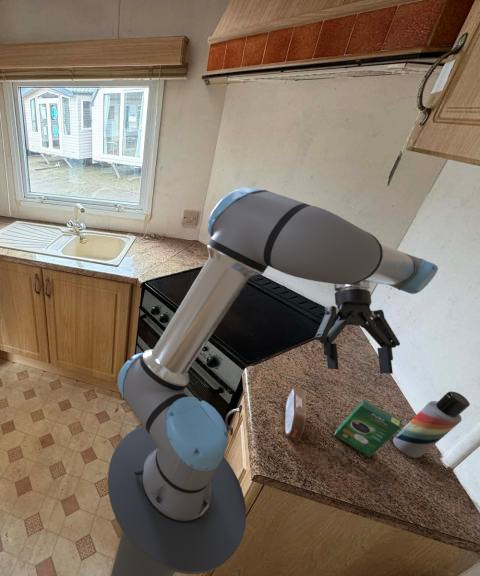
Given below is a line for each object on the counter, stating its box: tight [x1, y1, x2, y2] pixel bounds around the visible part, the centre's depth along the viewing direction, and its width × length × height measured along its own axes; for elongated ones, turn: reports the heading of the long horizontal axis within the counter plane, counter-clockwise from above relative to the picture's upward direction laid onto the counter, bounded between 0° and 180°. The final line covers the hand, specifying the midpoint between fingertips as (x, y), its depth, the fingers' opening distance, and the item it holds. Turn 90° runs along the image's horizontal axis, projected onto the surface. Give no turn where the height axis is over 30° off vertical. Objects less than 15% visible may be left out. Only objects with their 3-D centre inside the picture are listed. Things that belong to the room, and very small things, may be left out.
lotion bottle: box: [392, 391, 471, 459], centre depth 74 cm, size 6×6×20 cm
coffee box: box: [333, 399, 403, 458], centre depth 76 cm, size 8×3×13 cm, turn 44°
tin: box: [284, 387, 307, 442], centre depth 81 cm, size 15×3×8 cm, turn 151°
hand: (359, 371), depth 79 cm, fingers open, 13 cm apart
